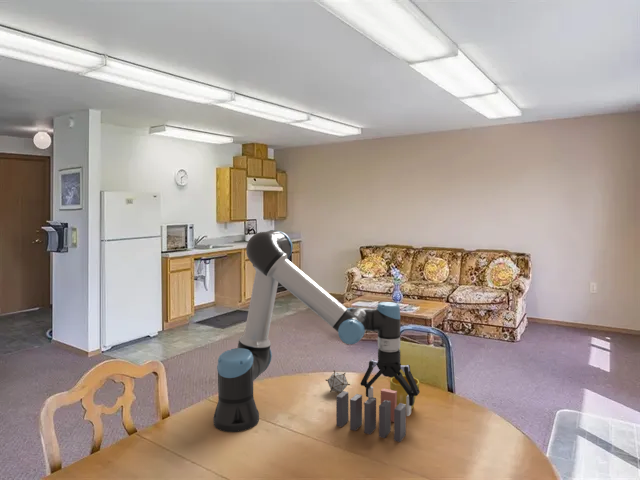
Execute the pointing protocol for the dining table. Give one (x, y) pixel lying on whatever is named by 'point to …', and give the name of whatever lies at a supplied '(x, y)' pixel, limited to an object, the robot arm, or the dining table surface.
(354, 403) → the domino
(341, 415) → the domino
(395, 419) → the domino
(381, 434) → the domino
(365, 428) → the domino
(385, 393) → the domino
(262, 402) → the dining table surface
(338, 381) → the game die
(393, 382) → the plant pot
